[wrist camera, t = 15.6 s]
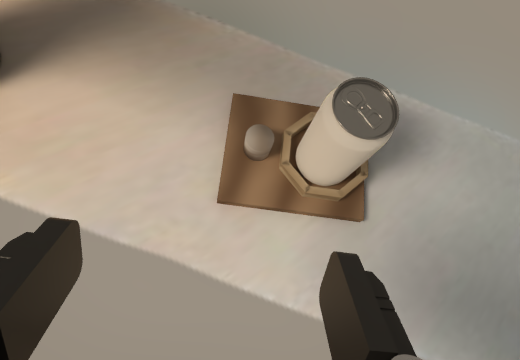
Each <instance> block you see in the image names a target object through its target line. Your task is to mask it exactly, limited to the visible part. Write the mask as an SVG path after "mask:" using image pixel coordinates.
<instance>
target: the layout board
mask: <svg viewBox="0 0 520 360" xmlns="http://www.w3.org/2000/svg"><path fill="white" fill-rule="evenodd" d="M319 108H320V107H316V106H309V105H303V104H297V103H291V102H284V101H278V100H272V99H266V98H259V97H253V96H247V95H241V94H234V93H233V99H232V105H231V112H230V119H229V125H228V132H227V138H226V145H225V152H224V158H223V165H222V172H221V178H220V185H219V192H218V198H217V203H220V204H228V205H235V206H243V207H250V208H258V209H265V210H273V211H280V212H288V213H295V214H303V215H311V216H318V217H326V218H333V219H341V220H348V221H356V222H361V221H363V220H364V179H366V178H367V177H368V160H367V161H365V162H364V163H363V164H362V165H361V166H360V167H358V168H357V169H356V170H355V171H354V172H352V173H351V174H350V175H349V176H348V177H347V178H345V179H344V180H343V181H341V182H340V183H338V184H336V185H332V186H321V185H317V184H314V183H312V182H310V181H309V180H307V179H306V178H305V177H304V176H303V175H302V173H301V172H300V170H299V168H298V166H297V163H296V151H297V148H298V145H299V143H300V142H301V140H302V138H303V136H304V134H305V133H306V131H307V129H308V127H309V125H310V124H311V122H312V120H313V118H314V117H315V115H316V113H317V111H318V110H319Z"/></svg>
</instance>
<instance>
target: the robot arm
mask: <svg viewBox="0 0 520 360" xmlns="http://www.w3.org/2000/svg"><path fill="white" fill-rule="evenodd" d="M81 267H82V248H81V239H80V227H79V223H78V221H76V220H69V219H60V218H52V217H50V218H48V219H46V220H45V222H43V224H42V225H41V226H40V227H39V228H38V229H37V230H36V231H35V232H34V233H31V232H26V233H24V234H22V235H20V236H19V237H17V238H15V239H13V240H11V241H10V242H8V243H7V244H6V245H5V246H4V247H3V248H2V249H1V250H0V360H28V359H29V358H30V356H31V354H32V353H33V351H34V349H35V348H36V346H37V345H38V343H39V341H40V340H41V338H42V336H43V335H44V333H45V331H46V330H47V328H48V327H49V325H50V323H51V322H52V320H53V319H54V317H55V315H56V314H57V312H58V310H59V309H60V307H61V305H62V304H63V302H64V301H65V299H66V297H67V295H68V294H69V292H70V291H71V289H72V288H73V286H74V284H75V283H76V281H77V279H78V277H79V275H80V272H81ZM319 301H320V308H321V312H322V317H323V321H324V325H325V330H326V334H327V339H328V343H329V348H330V352H331V356H332V360H422V359H420V358H417V356H416V354H415V352H414V350H413V347H412V345H411V343H410V341H409V339H408V337H407V334H406V332H405V330H404V328H403V326H402V324H401V321H400V319H399V317H398V315H397V313H396V312H395V308H394V306H393V304H392V302H391V301H390V300H389V295H388V293H387V291H386V289H385V287H384V285H383V283H382V282H381V281H380V280H379V279H378V278H377V277H376V276H375V275H374V274H373V273H372V272H370V271H364V268H363V266H362V263H361V261H360V259H359V257H358V255H357V254H352V253H343V252H333V253H332V254H331V256H330V259H329V262H328V265H327V268H326V271H325V274H324V277H323V280H322V283H321V287H320V294H319Z"/></svg>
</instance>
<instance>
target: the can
mask: <svg viewBox="0 0 520 360" xmlns="http://www.w3.org/2000/svg"><path fill="white" fill-rule="evenodd" d="M398 119H399V108H398V104H397V101H396V99H395V97H394V96H393V94H392V93H391V92H390V91H389V90H388V89H387V88H386V87H385V86H384V85H382V84H381V83H379V82H377V81H375V80H373V79H369V78H363V77H358V78H352V79H349V80H346V81H345V82H343V83H342V84H340V85H339V86H338V87H337V88H335V89H334V90H332V91H331V92H330V93H329V94H328V95H327V97H326V98H325V100H324V101H323V103H322V105H321V106H320V108H319V110H318V111H317V113H316V115H315V117H314V118H313V120H312V122H311V124H310V125H309V127H308V129H307V131H306V133H305V134H304V136H303V138H302V140H301V142H300V143H299V145H298V148H297V151H296V163H297V166H298V168H299V170H300V172H301V173H302V175H303V176H304V177H305V178H306V179H307V180H309V181H310V182H312V183H314V184H317V185H321V186H332V185H336V184H338V183H340V182H341V181H343V180H344V179H345V178H347V177H348V176H349V175H350V174H351V173H352V172H354V171H355V170H356V169H357V168H358V167H360V166H361V165H362V164H363V163H364V162H365V161H367V160H368V159H369V158H370V157H371V156H372V155H373V154H375V153H376V152H377V151H378V150H379V149H380V148H381V147H383V146H384V145H385V144H386V143H387V141H388V140H389V139H390V137H391V135H392V133H393V130H394V128H395V127H396V125H397V122H398Z"/></svg>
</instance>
